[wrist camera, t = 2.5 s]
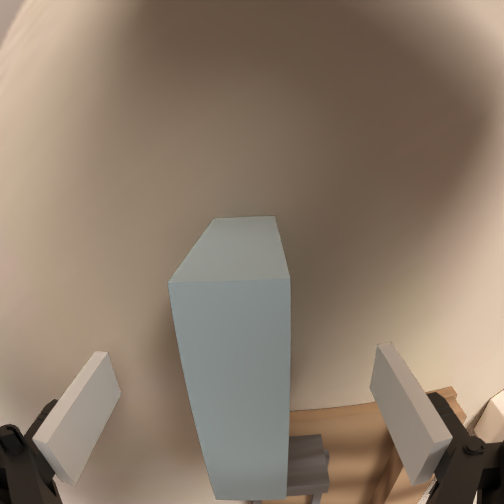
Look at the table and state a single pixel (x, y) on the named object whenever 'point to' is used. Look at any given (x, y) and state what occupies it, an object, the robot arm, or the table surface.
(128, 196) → the table surface
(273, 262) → the door
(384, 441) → the brown piece
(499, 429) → the jar
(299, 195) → the table surface
